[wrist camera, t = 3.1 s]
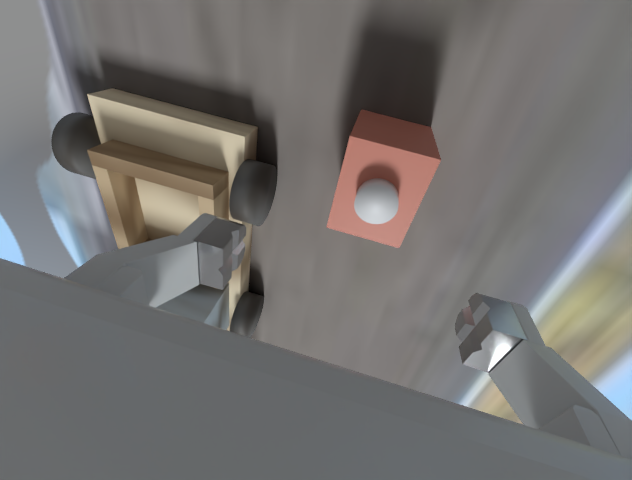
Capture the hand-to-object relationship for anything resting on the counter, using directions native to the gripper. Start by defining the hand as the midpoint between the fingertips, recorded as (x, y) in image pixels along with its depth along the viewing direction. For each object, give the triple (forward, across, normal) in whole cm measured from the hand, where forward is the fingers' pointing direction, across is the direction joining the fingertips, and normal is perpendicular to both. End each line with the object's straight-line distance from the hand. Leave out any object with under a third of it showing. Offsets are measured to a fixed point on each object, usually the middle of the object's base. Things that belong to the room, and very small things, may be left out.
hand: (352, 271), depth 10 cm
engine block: (+10, 0, -1) cm, 10 cm away
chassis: (+10, +13, +9) cm, 19 cm away
